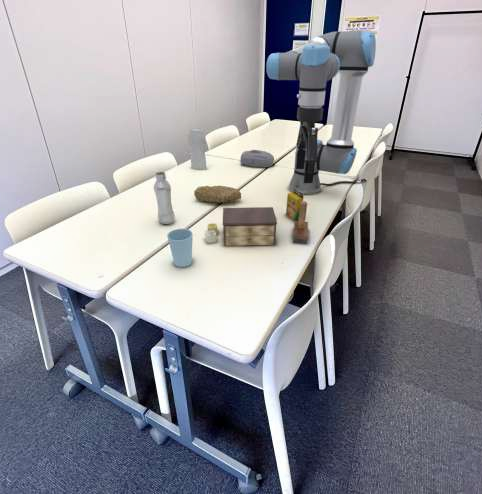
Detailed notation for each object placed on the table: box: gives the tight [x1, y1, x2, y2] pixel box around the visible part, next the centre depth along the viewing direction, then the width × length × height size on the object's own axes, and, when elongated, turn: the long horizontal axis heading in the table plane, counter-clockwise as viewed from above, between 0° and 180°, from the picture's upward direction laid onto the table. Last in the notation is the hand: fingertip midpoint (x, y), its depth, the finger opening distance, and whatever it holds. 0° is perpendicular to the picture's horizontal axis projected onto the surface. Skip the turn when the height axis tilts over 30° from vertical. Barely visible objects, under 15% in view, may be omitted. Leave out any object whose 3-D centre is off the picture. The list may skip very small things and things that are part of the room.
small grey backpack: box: [239, 149, 275, 168], centre depth 191 cm, size 15×8×20 cm
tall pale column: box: [187, 128, 207, 171], centre depth 181 cm, size 11×4×22 cm, turn 68°
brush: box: [292, 200, 309, 245], centre depth 114 cm, size 5×11×13 cm, turn 170°
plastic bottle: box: [153, 171, 176, 225], centre depth 123 cm, size 6×7×20 cm
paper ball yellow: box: [206, 222, 218, 235], centre depth 119 cm, size 4×4×3 cm
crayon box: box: [285, 188, 304, 222], centre depth 128 cm, size 7×3×12 cm, turn 23°
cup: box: [166, 228, 194, 268], centre depth 101 cm, size 8×8×10 cm
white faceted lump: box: [204, 230, 217, 244], centre depth 114 cm, size 4×4×3 cm
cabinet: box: [222, 206, 278, 247], centre depth 115 cm, size 18×14×9 cm
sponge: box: [193, 185, 242, 204], centre depth 144 cm, size 13×8×20 cm
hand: (303, 175), depth 106 cm, fingers open, 13 cm apart
